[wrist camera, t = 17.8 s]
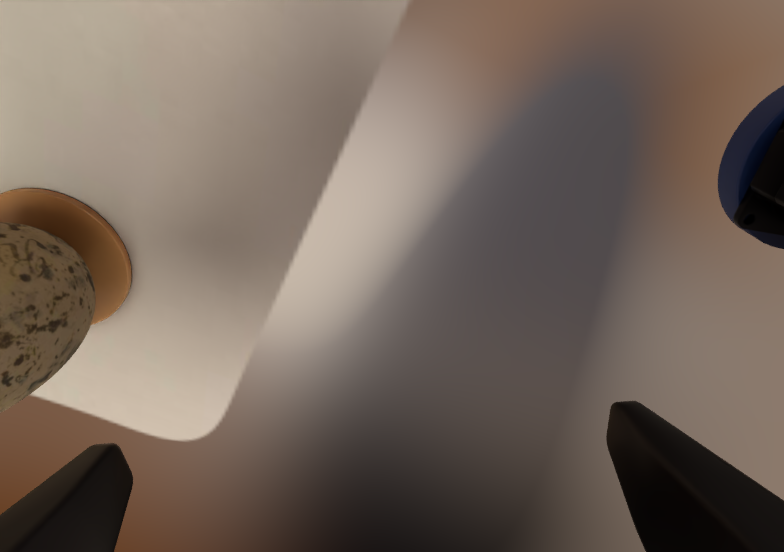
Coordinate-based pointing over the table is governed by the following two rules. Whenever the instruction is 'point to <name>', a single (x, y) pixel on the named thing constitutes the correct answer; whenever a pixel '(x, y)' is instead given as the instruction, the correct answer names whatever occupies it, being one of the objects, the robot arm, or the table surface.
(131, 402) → the table surface
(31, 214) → the coaster
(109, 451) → the robot arm
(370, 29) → the table surface
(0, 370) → the decorative egg
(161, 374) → the table surface
